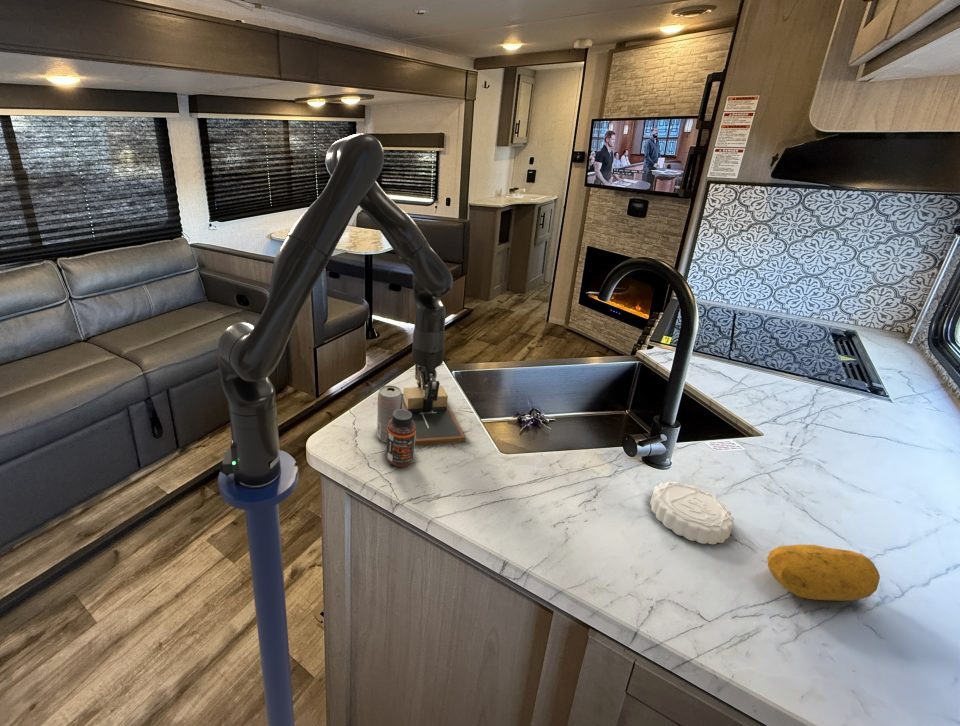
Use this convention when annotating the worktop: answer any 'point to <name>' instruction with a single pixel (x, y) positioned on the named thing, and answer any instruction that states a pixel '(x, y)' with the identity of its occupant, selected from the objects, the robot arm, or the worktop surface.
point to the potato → (823, 572)
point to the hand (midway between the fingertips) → (424, 404)
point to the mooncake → (691, 512)
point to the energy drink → (387, 408)
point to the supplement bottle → (400, 438)
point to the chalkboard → (436, 427)
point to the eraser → (415, 399)
